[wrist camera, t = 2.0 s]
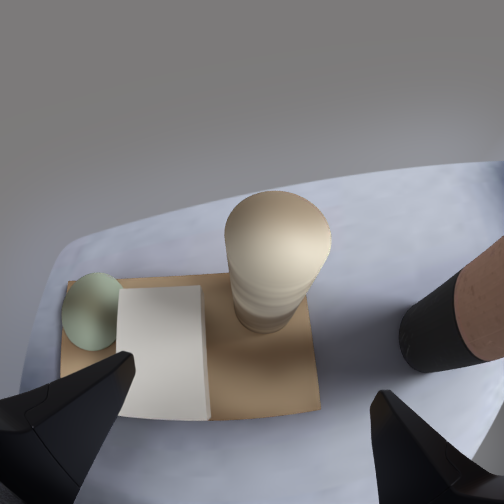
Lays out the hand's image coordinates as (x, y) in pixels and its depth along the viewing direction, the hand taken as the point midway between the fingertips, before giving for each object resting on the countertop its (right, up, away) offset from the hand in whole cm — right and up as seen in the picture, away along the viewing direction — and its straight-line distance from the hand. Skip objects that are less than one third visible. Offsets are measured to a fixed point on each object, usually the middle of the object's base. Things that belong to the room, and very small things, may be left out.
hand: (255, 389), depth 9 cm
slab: (-6, -4, +11) cm, 13 cm away
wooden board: (-6, -3, +13) cm, 15 cm away
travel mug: (+17, -4, +13) cm, 22 cm away
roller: (+1, 0, +13) cm, 13 cm away
